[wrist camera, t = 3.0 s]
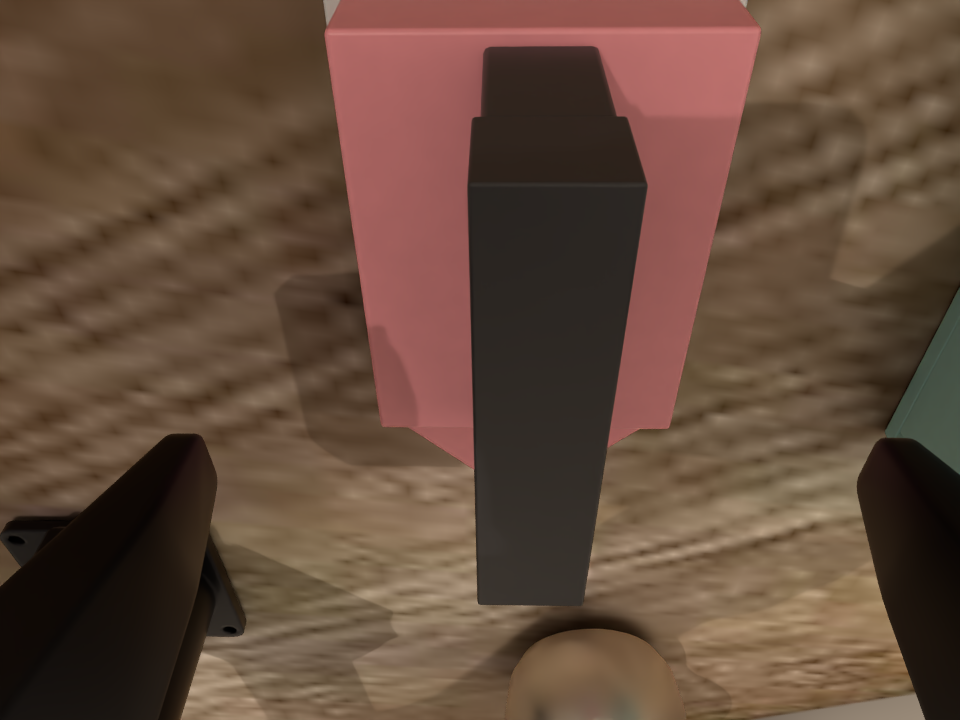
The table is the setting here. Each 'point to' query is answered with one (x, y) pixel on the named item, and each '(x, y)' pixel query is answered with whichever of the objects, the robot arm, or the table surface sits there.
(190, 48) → the table surface
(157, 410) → the table surface
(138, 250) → the table surface
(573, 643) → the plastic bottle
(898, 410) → the teal open box
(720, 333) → the table surface
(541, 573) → the iron
